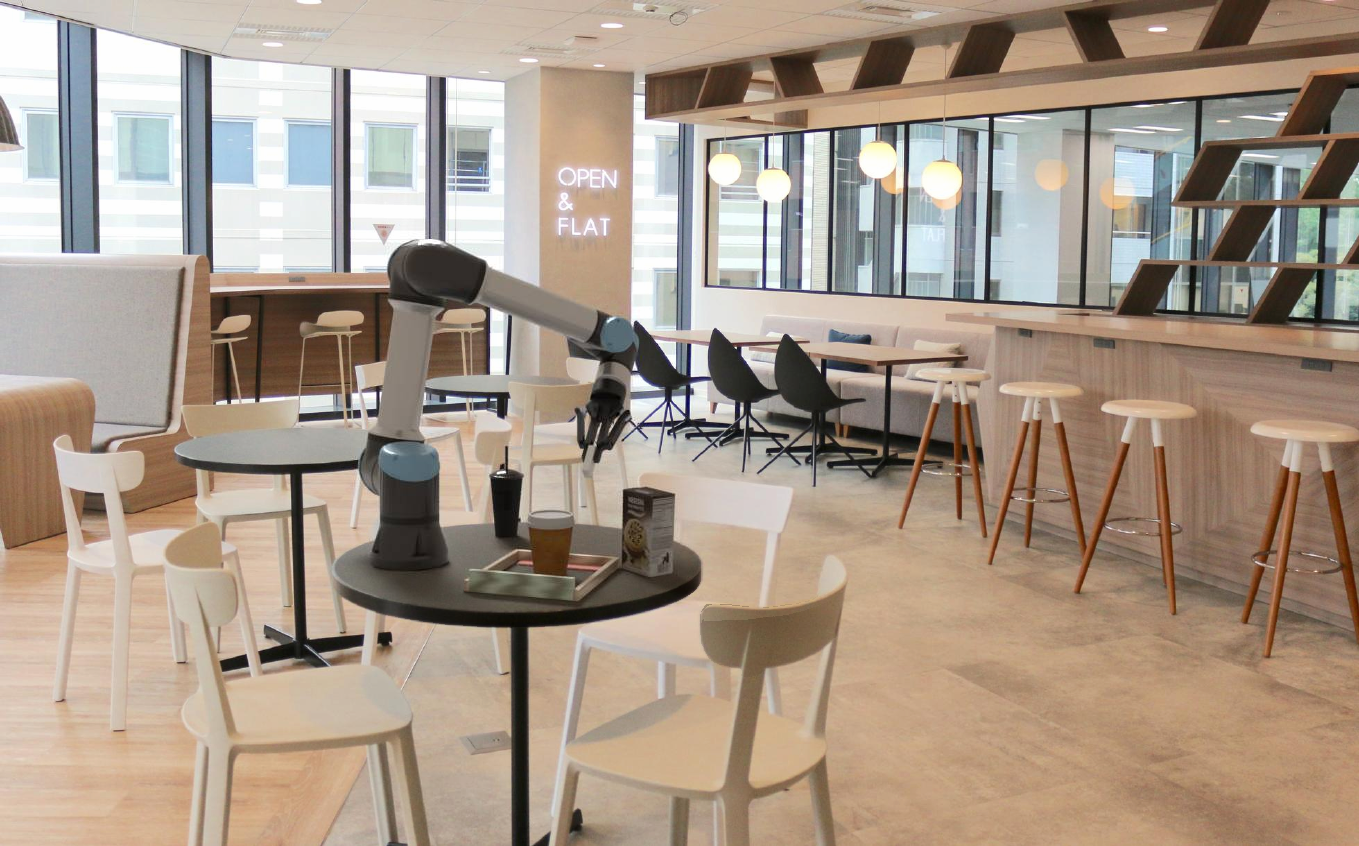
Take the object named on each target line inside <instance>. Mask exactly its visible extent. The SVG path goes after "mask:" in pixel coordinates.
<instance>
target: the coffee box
mask: <svg viewBox="0 0 1359 846" xmlns="http://www.w3.org/2000/svg"><path fill="white" fill-rule="evenodd" d="M675 504H676V493H674V492H673V493H672V492H669V491H665V490H661V489H656V488H654V487H648V486H641V487H629V488H623V489H622V515H621V516H622V519H621V520H622V521H621V522H622V523H621V524H622V526H621V527H622V528H621V529H622V530H621V531H622V533H621V569H623V570H627V571H630V572H632V573H635V574H639V575H642V576H645V577H648V578H654V577H658V576H664V575H669V574H673V573H674V572H673V571H674V568H673V567H674V566H673V565H674V539H675V536H674V535H675V533H674V532H675V512H676V511H675V509H676V508H675V507H676V505H675Z"/></svg>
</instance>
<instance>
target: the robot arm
mask: <svg viewBox="0 0 1359 846" xmlns="http://www.w3.org/2000/svg"><path fill="white" fill-rule="evenodd" d="M386 264H387V266H386V272H387V278H388V282H389V288H388V296H387V297H388V298H387V302H388V303H389V304H390V306H391V307H392V309H393V314H392V320H391V327H390V335H389V341H388V349H387V353H386V354H387V355H386V361H385V368H384V375H383V380H382V381H383V382H382V390H381V396H380V403H379V409H378V414H377V415H378V416H377V421H376V422H377V423H376V424H375V425H374V426H373V427H371V428H370V429H369V430H368V431H367V439H366V444H365V445H366V446H365V447H364V448H363V450H362V451H361V453H360V455H359V458H358V462H357V470H358V475H359V478H360V479H361V482H362V484H363V485H364V486H365V488H366V489H368V491H369V492H371V493H372V494H374V496H378V497H379V527H378V529H377V533H376V535H375V539H374V541H373V545H372V548H371V552H370V563H371V565H372V566H374V567H377V568H380V569H383V570H390V571H391V570H393V571H417V570H428V569H432V568H437V567H438V568H439V567H441V566H443V565H445V564H447V563H448V562H449V547H448V544H447V542H446V538H445V536H444V532H443V529H442V527H441V523H440V470H441V462H440V455H439V451H438V450H437V449H436V448H435V447H433V445H430V444H427V443H425V441H426V437H425V436H424V434H422V432H421V431H420V425H421V417H422V410H423V405H424V399H425V398H424V397H425V391H426V385H427V377H428V372H429V364H430V363H429V362H430V357H431V350H432V344H433V338H434V330H435V324H436V323H435V322H436V318H437V316H438V315H439V314H440V313H442V312H443V311H444V310H445V307H446V300H452V301H457V302H459V303H462V304H464V305H468V306H471V305H473V304H475V303H476V304H479V305H481V306H485V307H488V308H489V309H492V310H495V311H498V312H500V313H504V314H506V315H509V316H511V317H514V318H517V319H519V320H522V321H525V322H528V323H529V324H532V325H535V326H538V327H541V328H544V329H547V330H550V331H553V332H555V333H558V334H560V335H563V336H564V337H565V338H566V339H567V341H570V342H572V343H573V344H575V345H577V347H580V349H582V350H584V351H585V352H587V353H588V354H590V355H591V356H593V358H595V359H597V360H598V361H599V364H598V368H597V372H596V376H595V378H594V383H593V385H592V389H591V393H590V397H589V400H588V401H587V403H586V404H585V406H584V407H582V408H581V407H577V406H576V407H574V410H573V412H574V413H575V416H576V431H577V432H576V441H577V444H578V447H579V449H580V450H582V452H581V455H580V456H581V460H582V463H583V465H582V469H581V471H582V473H583V476H584V478H586V479H587V478H588V479H589V478H592V477H593V473H594V470H595V466H596V464H599V463H600V462H601V459H602V457H603V456H602V455H603V453H604V451H609V452H610V451H612V450H613V448H614V447H615V445H616V443H617V441H618V440H619V438H620V436H621V435H622V433H623V431H624V429H625V427H626V425H628V424H629V423H630V422H631V421H632V419H633V417H632V413H631V411H630V409H625V407H624V404H625V400H626V396H627V392H628V388H629V385H630V382H631V381H630V380H631V378H632V374H633V369H634V366H635V363H636V359H637V357H638V351H639V344H640V339H639V336H638V334H637V333H636V332H635V330H634V327H633V325H632V323H631V322H630V321H629V320H628V319H627V318H625V317H622V316H619V315H612V314H609V313H606V312H604V311H601V310H598V309H595V307H594V308H593V307H591V306H589V305H586V304H583V303H581V302H578V301H576V300H573V299H570V298H568V297H565V296H563V295H561V294H558V293H556V292H553V291H550V290H548V289H545V288H542V287H540V286H538V285H535V284H533V283H529V282H527V281H525V280H524V279H523V280H522V279H521V278H517V277H515V276H512V275H510V274H507V273H504V272H502V271H500V270H497V269H494V268H491V267H490V266H489V264H488V261H487V260H486V259H483V258H481V257H478V256H476V255H473V254H471V253H469V252H467V251H466V250H464V249H461V248H459V247H458V246H455V245H454V244H451V243H449V242H446V241H444V240H440V239H435V238H433V239H431V238H430V239H428V238H427V239H418V238H417V239H410V240H408V241H405V242H403V243H401V244H400V245H399V246H397V247H396V248H395V249H394V250H393V251H392V253H391V254H390V256H389V257H388V261H387V263H386ZM587 414H588V415H589V417H590V421H589V425H588V428H587V429H588V430H587V433H586V426H585V425H586V422H585V419H586V417H587ZM615 420H616V421H615ZM614 421H615V422H614ZM613 422H614V425H613V427H612V424H613ZM598 429H599V430H598ZM598 431H599V432H598ZM597 434H598V435H597ZM596 437H597V439H596Z"/></svg>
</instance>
